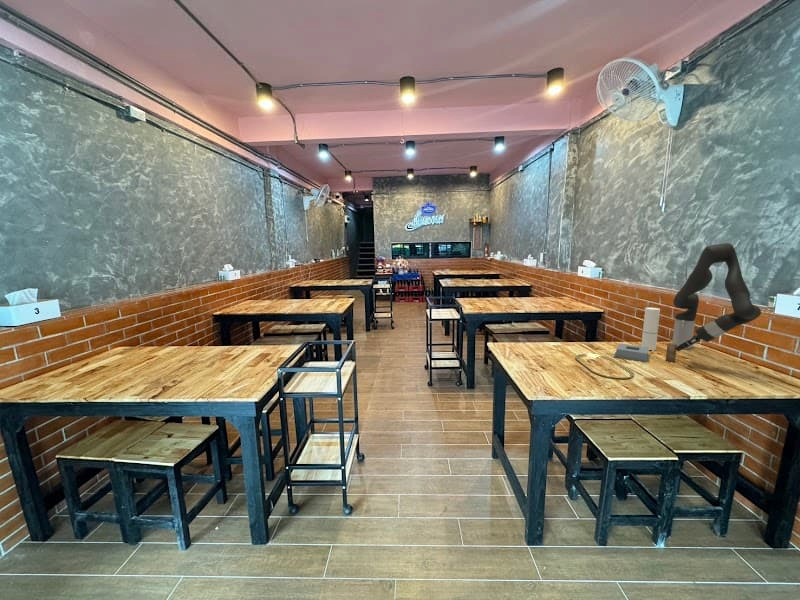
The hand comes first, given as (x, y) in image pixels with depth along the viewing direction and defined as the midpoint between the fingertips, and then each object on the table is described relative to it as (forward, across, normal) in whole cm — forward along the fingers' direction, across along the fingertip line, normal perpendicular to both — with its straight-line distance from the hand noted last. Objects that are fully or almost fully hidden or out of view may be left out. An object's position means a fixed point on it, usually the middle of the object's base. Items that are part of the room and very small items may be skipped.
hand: (678, 348), depth 177 cm
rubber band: (+22, +36, -10) cm, 43 cm away
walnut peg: (+8, 0, +4) cm, 9 cm away
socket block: (+19, +6, -8) cm, 21 cm away
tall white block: (+18, -16, -6) cm, 25 cm away
